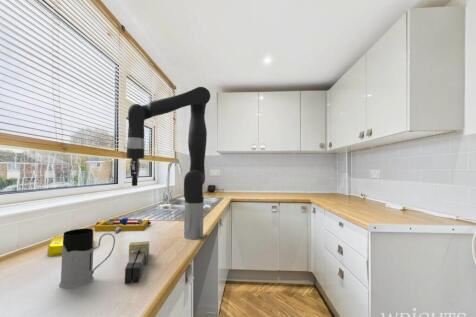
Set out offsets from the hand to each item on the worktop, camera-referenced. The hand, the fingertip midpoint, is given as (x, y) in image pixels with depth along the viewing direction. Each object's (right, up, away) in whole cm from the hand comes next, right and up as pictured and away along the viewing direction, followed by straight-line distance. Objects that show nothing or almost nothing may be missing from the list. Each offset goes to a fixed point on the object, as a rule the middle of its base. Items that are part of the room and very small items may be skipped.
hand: (134, 185), depth 109 cm
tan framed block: (+12, -25, -24) cm, 37 cm away
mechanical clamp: (-18, -27, +22) cm, 40 cm away
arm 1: (+12, -25, -29) cm, 40 cm away
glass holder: (+2, -25, -37) cm, 45 cm away
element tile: (-23, -26, -9) cm, 36 cm away
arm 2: (+14, -25, -29) cm, 41 cm away
